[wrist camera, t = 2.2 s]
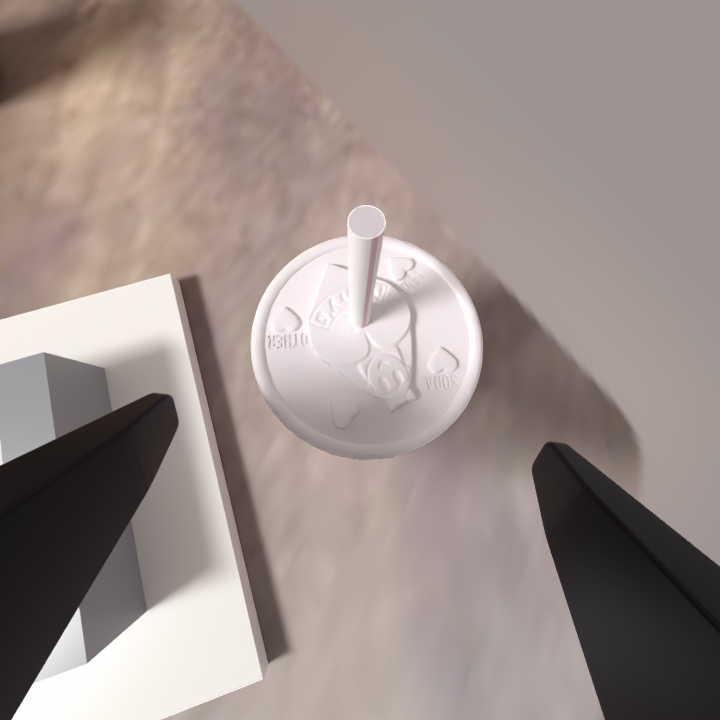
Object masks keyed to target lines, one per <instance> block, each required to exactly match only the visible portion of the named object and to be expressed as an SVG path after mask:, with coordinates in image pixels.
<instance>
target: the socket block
mask: <svg viewBox="0 0 720 720" xmlns="http://www.w3.org/2000/svg"><path fill="white" fill-rule="evenodd" d="M150 393H163V394H169V395H171V396H172V397H173V400H174V403H175V407H176V411H177V415H178V419H179V424H178V429H177V431H176V433H175V435H174V438H173V440H172V442H171V444H170V446H169V448H168V450H167V453H166V455H165V457H164V459H163V461H162V463H161V466H160V468H159V470H158V472H157V474H156V476H155V478H154V480H153V482H152V484H151V487H150V488H149V490H148V492H147V494H146V495H145V497H144V499H143V500H142V502H141V504H140V506H139V507H138V509H137V511H136V512H135V514H134V516H133V517H132V519H131V521H130V522H129V524H128V526H127V527H126V529H125V531H124V532H123V534H122V536H121V537H120V539H119V541H118V542H117V544H116V546H115V547H114V549H113V551H112V552H111V554H110V556H109V557H108V559H107V561H106V562H105V564H104V566H103V567H102V569H101V571H100V573H99V574H98V576H97V578H96V579H95V581H94V583H93V584H92V586H91V588H90V589H89V591H88V593H87V594H86V596H85V598H84V599H83V601H82V603H81V604H80V606H79V608H78V609H77V611H76V613H75V614H74V616H73V618H72V619H71V621H70V623H69V624H68V626H67V628H66V629H65V631H64V633H63V635H62V636H61V638H60V640H59V641H58V643H57V645H56V646H55V648H54V650H53V651H52V653H51V655H50V656H49V658H48V660H47V661H46V663H45V665H44V666H43V668H42V670H41V671H40V673H39V675H38V676H37V678H36V680H35V681H34V683H33V685H32V686H31V688H30V690H29V691H28V693H27V695H26V697H25V698H24V700H23V702H22V703H21V705H20V707H19V708H18V710H17V712H16V713H15V715H14V717H13V718H12V720H161V719H164V718H167V717H169V716H172V715H174V714H177V713H179V712H182V711H184V710H187V709H189V708H192V707H194V706H197V705H199V704H202V703H204V702H207V701H209V700H212V699H215V698H217V697H220V696H222V695H225V694H227V693H230V692H232V691H235V690H237V689H240V688H242V687H245V686H247V685H250V684H252V683H255V682H257V681H260V680H263V678H264V675H265V672H266V669H267V666H268V660H267V656H266V651H265V647H264V643H263V639H262V634H261V630H260V626H259V621H258V617H257V613H256V609H255V604H254V600H253V596H252V591H251V587H250V583H249V579H248V574H247V570H246V566H245V561H244V557H243V553H242V549H241V544H240V540H239V536H238V531H237V527H236V523H235V519H234V514H233V510H232V506H231V501H230V497H229V493H228V489H227V484H226V480H225V476H224V472H223V467H222V463H221V459H220V454H219V450H218V446H217V442H216V437H215V433H214V429H213V424H212V420H211V416H210V412H209V407H208V403H207V399H206V394H205V390H204V386H203V382H202V377H201V373H200V369H199V364H198V360H197V356H196V352H195V347H194V343H193V339H192V334H191V330H190V326H189V322H188V317H187V313H186V309H185V304H184V300H183V296H182V292H181V287H180V283H179V281H178V280H177V279H176V278H175V277H173V276H172V275H171V274H167V275H163V276H159V277H156V278H152V279H148V280H145V281H141V282H137V283H134V284H130V285H126V286H123V287H119V288H115V289H112V290H108V291H104V292H101V293H97V294H93V295H90V296H86V297H82V298H79V299H75V300H71V301H68V302H64V303H60V304H57V305H53V306H49V307H46V308H42V309H38V310H35V311H31V312H27V313H24V314H20V315H16V316H13V317H9V318H5V319H2V320H0V465H2V464H4V463H7V462H9V461H11V460H13V459H15V458H17V457H19V456H21V455H23V454H25V453H27V452H29V451H31V450H34V449H36V448H38V447H40V446H42V445H44V444H46V443H48V442H50V441H52V440H54V439H56V438H59V437H61V436H63V435H65V434H67V433H69V432H71V431H73V430H75V429H77V428H79V427H81V426H84V425H86V424H88V423H90V422H92V421H94V420H96V419H98V418H100V417H102V416H104V415H106V414H108V413H111V412H113V411H115V410H117V409H119V408H121V407H123V406H125V405H127V404H129V403H131V402H133V401H135V400H138V399H140V398H142V397H144V396H146V395H148V394H150Z"/></svg>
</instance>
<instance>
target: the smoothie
mask: <svg viewBox="0 0 720 720" xmlns="http://www.w3.org/2000/svg"><path fill="white" fill-rule="evenodd" d="M385 225H386V220H385V217H384V215H383V213H382V212H381V211H380V210H379V209H378V208H376V207H374V206H370V205H362V206H359V207H357V208H355V209H354V210H352V211H351V213H350V214H349V216H348V222H347V227H348V236H345V237H340V238H336V239H332V240H329V241H326V242H323V243H321V244H318V245H316V246H314V247H312V248H310V249H308V250H306V251H305V252H303V253H302V254H300V255H298V256H297V257H296V258H294V259H293V260H292V261H291V262H289V263H288V264H287V265H286V266H285V267H284V268H283V269H282V270H281V271H280V272H279V273H278V274H277V276H276V277H275V278H274V279H273V281H272V282H271V283H270V285H269V286H268V288H267V290H266V291H265V293H264V295H263V297H262V299H261V301H260V303H259V306H258V308H257V311H256V314H255V318H254V322H253V327H252V334H251V358H252V364H253V370H254V373H255V377H256V380H257V383H258V386H259V388H260V391H261V393H262V395H263V397H264V399H265V400H266V402H267V404H268V405H269V407H270V408H271V410H272V411H273V413H274V414H275V415H276V416H277V417H278V419H279V420H280V421H281V422H282V423H283V424H284V425H285V426H286V427H287V428H288V429H289V430H290V431H292V432H293V433H294V434H295V435H297V436H298V437H299V438H301V439H302V440H304V441H305V442H307V443H309V444H310V445H312V446H314V447H316V448H318V449H321V450H323V451H325V452H327V453H329V454H332V455H336V456H342V457H347V458H353V459H358V460H369V459H383V458H391V457H395V456H398V455H402V454H405V453H408V452H411V451H414V450H416V449H418V448H420V447H422V446H424V445H426V444H428V443H429V442H431V441H433V440H434V439H436V438H437V437H438V436H440V435H441V434H442V433H443V432H445V431H446V430H447V429H448V428H449V427H450V426H451V425H452V424H453V423H454V422H455V421H456V420H457V418H458V417H459V416H460V415H461V413H462V412H463V411H464V409H465V408H466V406H467V405H468V403H469V401H470V399H471V397H472V395H473V393H474V390H475V388H476V386H477V383H478V379H479V376H480V372H481V366H482V359H483V338H482V330H481V325H480V321H479V317H478V314H477V311H476V309H475V306H474V304H473V302H472V299H471V298H470V296H469V294H468V292H467V290H466V289H465V287H464V286H463V285H462V283H461V282H460V280H459V279H458V278H457V277H456V276H455V274H454V273H453V272H452V271H451V270H450V269H449V268H448V267H447V266H446V265H445V264H443V263H442V262H441V261H440V260H439V259H437V258H436V257H434V256H433V255H431V254H430V253H428V252H427V251H425V250H423V249H421V248H419V247H417V246H415V245H413V244H411V243H408V242H405V241H402V240H399V239H395V238H391V237H386V236H384V231H385Z"/></svg>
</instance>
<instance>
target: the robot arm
mask: <svg viewBox="0 0 720 720" xmlns="http://www.w3.org/2000/svg"><path fill="white" fill-rule="evenodd" d="M178 424H179V419H178V415H177V411H176V407H175V403H174V400H173V397H172V396H171V395H169V394H163V393H150V394H148V395H146V396H144V397H142V398H140V399H138V400H135V401H133V402H131V403H129V404H127V405H125V406H123V407H121V408H119V409H117V410H115V411H113V412H111V413H108V414H106V415H104V416H102V417H100V418H98V419H96V420H94V421H92V422H90V423H88V424H86V425H84V426H81V427H79V428H77V429H75V430H73V431H71V432H69V433H67V434H65V435H63V436H61V437H59V438H56V439H54V440H52V441H50V442H48V443H46V444H44V445H42V446H40V447H38V448H36V449H34V450H31V451H29V452H27V453H25V454H23V455H21V456H19V457H17V458H15V459H13V460H11V461H9V462H7V463H4V464H2V465H0V720H12V718H13V717H14V715H15V713H16V712H17V710H18V708H19V707H20V705H21V703H22V702H23V700H24V698H25V697H26V695H27V693H28V691H29V690H30V688H31V686H32V685H33V683H34V681H35V680H36V678H37V676H38V675H39V673H40V671H41V670H42V668H43V666H44V665H45V663H46V661H47V660H48V658H49V656H50V655H51V653H52V651H53V650H54V648H55V646H56V645H57V643H58V641H59V640H60V638H61V636H62V635H63V633H64V631H65V629H66V628H67V626H68V624H69V623H70V621H71V619H72V618H73V616H74V614H75V613H76V611H77V609H78V608H79V606H80V604H81V603H82V601H83V599H84V598H85V596H86V594H87V593H88V591H89V589H90V588H91V586H92V584H93V583H94V581H95V579H96V578H97V576H98V574H99V573H100V571H101V569H102V567H103V566H104V564H105V562H106V561H107V559H108V557H109V556H110V554H111V552H112V551H113V549H114V547H115V546H116V544H117V542H118V541H119V539H120V537H121V536H122V534H123V532H124V531H125V529H126V527H127V526H128V524H129V522H130V521H131V519H132V517H133V516H134V514H135V512H136V511H137V509H138V507H139V506H140V504H141V502H142V500H143V499H144V497H145V495H146V494H147V492H148V490H149V488H150V487H151V484H152V482H153V480H154V478H155V476H156V474H157V472H158V470H159V468H160V466H161V463H162V461H163V459H164V457H165V455H166V453H167V450H168V448H169V446H170V444H171V442H172V440H173V438H174V435H175V433H176V431H177V429H178ZM532 475H533V479H534V484H535V489H536V494H537V498H538V503H539V508H540V512H541V517H542V522H543V526H544V530H545V534H546V538H547V541H548V545H549V548H550V551H551V554H552V557H553V560H554V563H555V567H556V570H557V573H558V576H559V579H560V582H561V585H562V588H563V591H564V594H565V598H566V601H567V604H568V607H569V610H570V613H571V616H572V619H573V622H574V625H575V629H576V632H577V635H578V638H579V641H580V644H581V647H582V650H583V653H584V656H585V660H586V663H587V666H588V669H589V672H590V675H591V678H592V681H593V684H594V687H595V691H596V694H597V697H598V700H599V703H600V706H601V709H602V712H603V715H604V718H605V720H720V566H719V565H717V564H716V563H715V562H714V561H712V560H711V559H710V558H709V557H707V556H706V555H705V554H704V553H702V552H701V551H700V550H699V549H697V548H696V547H694V546H693V545H692V544H691V543H690V542H689V541H687V540H686V539H685V538H683V537H682V536H681V535H680V534H678V533H677V532H676V531H675V530H674V529H672V528H671V527H670V526H669V525H667V524H666V523H665V522H663V521H662V520H661V519H659V517H657V516H656V515H655V514H653V513H652V512H651V511H650V510H649V509H647V508H646V507H645V506H644V505H642V504H641V503H640V502H638V501H637V500H636V499H635V498H633V497H632V496H631V495H630V494H628V493H627V492H626V491H625V490H623V489H622V488H621V487H620V486H618V485H617V484H616V483H615V482H613V481H612V480H611V479H610V478H608V477H607V476H606V475H605V474H603V473H602V472H601V471H600V470H598V469H597V468H596V467H595V466H593V465H592V464H591V463H590V462H588V461H587V460H586V459H585V458H583V457H582V456H581V455H580V454H578V453H577V452H576V451H575V450H573V449H572V448H571V447H570V446H568V445H567V444H564V443H558V442H547V443H546V444H544V446H543V448H542V449H541V451H540V453H539V454H538V456H537V458H536V460H535V461H534V463H533V466H532Z"/></svg>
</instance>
